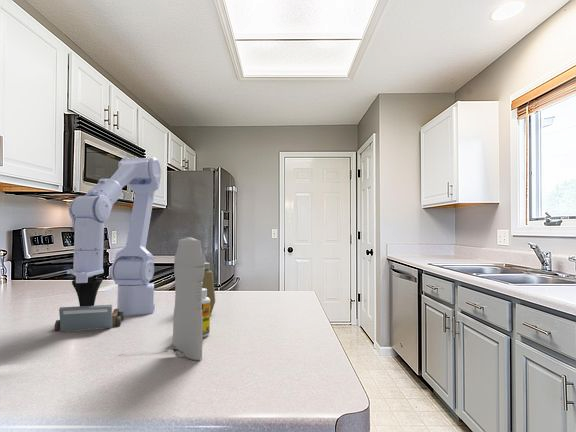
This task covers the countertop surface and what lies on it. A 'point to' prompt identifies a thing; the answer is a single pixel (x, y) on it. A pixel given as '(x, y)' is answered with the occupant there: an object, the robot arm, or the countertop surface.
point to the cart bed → (116, 320)
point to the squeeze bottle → (209, 283)
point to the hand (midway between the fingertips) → (86, 311)
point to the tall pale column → (188, 299)
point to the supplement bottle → (205, 313)
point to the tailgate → (85, 317)
